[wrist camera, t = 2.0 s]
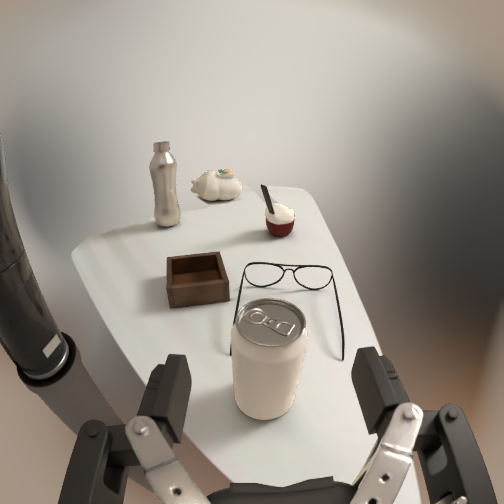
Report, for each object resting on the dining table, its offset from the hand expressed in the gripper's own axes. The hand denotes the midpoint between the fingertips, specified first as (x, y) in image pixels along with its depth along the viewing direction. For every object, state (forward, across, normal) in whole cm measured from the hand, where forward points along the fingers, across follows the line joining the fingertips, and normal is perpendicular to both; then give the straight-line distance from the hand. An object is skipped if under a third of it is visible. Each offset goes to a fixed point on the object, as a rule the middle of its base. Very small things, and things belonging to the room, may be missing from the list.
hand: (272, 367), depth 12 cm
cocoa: (+50, -4, +12) cm, 52 cm away
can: (+10, 0, +16) cm, 19 cm away
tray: (+30, +10, +14) cm, 35 cm away
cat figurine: (+73, +12, +9) cm, 74 cm away
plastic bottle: (+55, +22, +11) cm, 60 cm away
